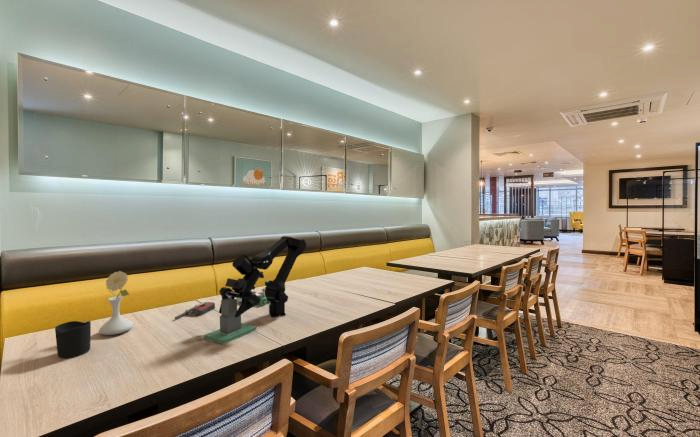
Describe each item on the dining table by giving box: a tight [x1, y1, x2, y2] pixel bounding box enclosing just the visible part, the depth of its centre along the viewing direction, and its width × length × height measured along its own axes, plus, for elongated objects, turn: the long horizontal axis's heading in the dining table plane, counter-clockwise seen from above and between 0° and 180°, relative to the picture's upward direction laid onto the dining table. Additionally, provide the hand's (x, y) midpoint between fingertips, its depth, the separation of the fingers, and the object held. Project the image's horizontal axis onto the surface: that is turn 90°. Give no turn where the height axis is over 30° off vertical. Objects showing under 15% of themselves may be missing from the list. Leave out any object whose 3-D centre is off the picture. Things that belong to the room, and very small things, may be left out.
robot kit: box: [235, 280, 270, 307], centre depth 177 cm, size 19×25×9 cm
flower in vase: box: [98, 270, 134, 336], centre depth 132 cm, size 13×11×25 cm
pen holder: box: [54, 320, 92, 359], centre depth 114 cm, size 9×9×10 cm
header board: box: [203, 322, 257, 345], centre depth 131 cm, size 16×11×5 cm
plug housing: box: [219, 298, 242, 335], centre depth 130 cm, size 7×4×12 cm
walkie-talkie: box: [174, 301, 216, 320], centre depth 155 cm, size 9×4×20 cm
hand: (227, 314), depth 129 cm, fingers open, 9 cm apart
